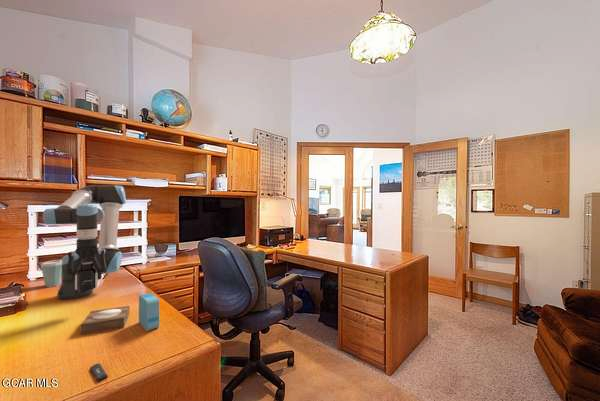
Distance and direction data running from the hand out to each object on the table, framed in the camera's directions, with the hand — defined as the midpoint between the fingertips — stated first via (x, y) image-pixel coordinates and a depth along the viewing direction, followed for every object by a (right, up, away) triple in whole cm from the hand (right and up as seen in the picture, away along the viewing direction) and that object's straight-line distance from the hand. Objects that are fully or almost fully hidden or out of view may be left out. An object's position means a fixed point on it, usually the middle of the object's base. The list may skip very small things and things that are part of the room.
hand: (87, 287), depth 121 cm
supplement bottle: (0, -1, 0) cm, 1 cm away
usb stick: (+39, -12, -43) cm, 60 cm away
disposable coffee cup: (-55, -13, +41) cm, 69 cm away
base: (+17, -12, -11) cm, 24 cm away
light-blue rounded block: (+36, -12, -12) cm, 40 cm away
